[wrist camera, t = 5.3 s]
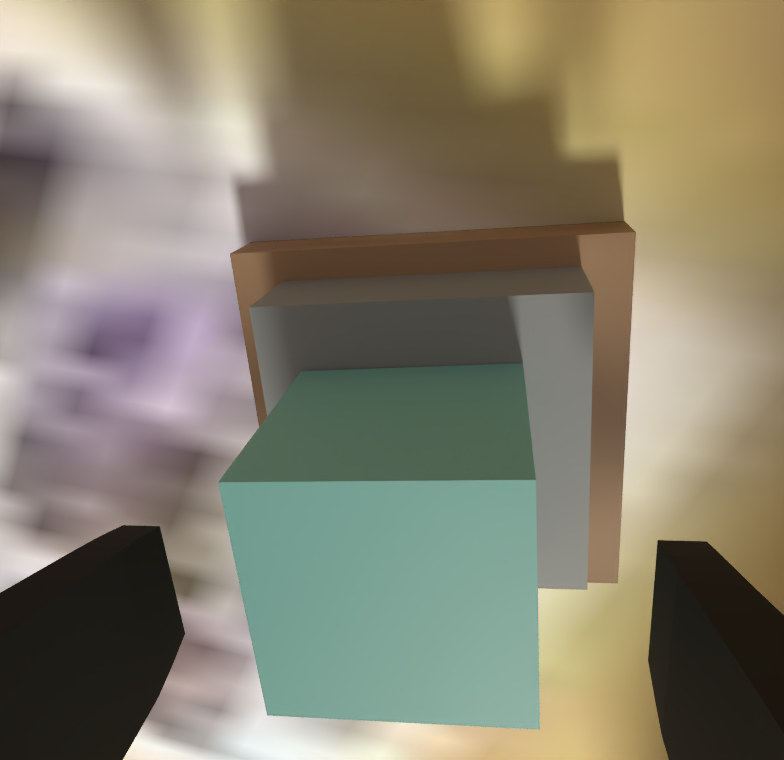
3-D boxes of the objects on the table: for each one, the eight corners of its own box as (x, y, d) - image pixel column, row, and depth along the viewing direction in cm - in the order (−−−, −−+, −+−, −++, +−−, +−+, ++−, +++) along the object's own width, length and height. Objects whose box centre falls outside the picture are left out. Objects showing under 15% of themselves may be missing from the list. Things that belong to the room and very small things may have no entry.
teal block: (527, 555, 13) (539, 729, 9) (328, 553, 14) (267, 715, 10) (522, 363, 12) (536, 480, 8) (301, 371, 12) (218, 481, 9)
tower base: (605, 532, 17) (617, 583, 15) (305, 526, 19) (284, 572, 17) (618, 216, 14) (635, 232, 12) (261, 236, 16) (230, 254, 14)
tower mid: (577, 531, 15) (587, 589, 13) (318, 526, 16) (294, 580, 14) (581, 265, 13) (594, 291, 11) (282, 281, 14) (248, 307, 12)
